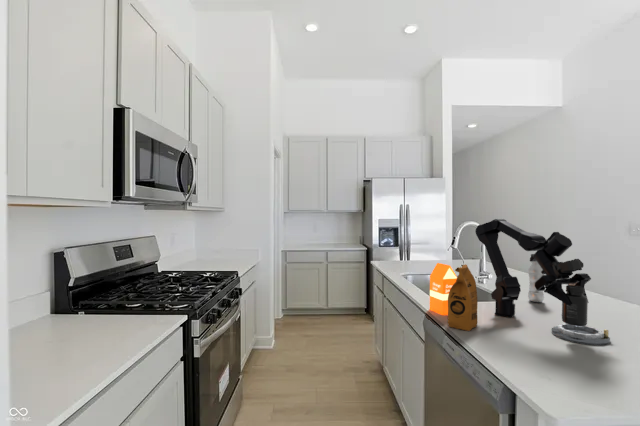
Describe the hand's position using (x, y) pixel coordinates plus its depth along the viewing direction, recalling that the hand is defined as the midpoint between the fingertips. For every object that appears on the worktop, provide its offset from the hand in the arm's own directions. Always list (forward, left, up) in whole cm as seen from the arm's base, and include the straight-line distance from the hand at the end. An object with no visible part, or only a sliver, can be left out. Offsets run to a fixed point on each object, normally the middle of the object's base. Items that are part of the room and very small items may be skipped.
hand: (578, 304), depth 116 cm
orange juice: (-46, +9, -12) cm, 49 cm away
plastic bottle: (-17, +52, -12) cm, 56 cm away
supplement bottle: (-1, +1, -7) cm, 7 cm away
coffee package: (-35, -5, -12) cm, 37 cm away
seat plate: (0, +7, -12) cm, 14 cm away
